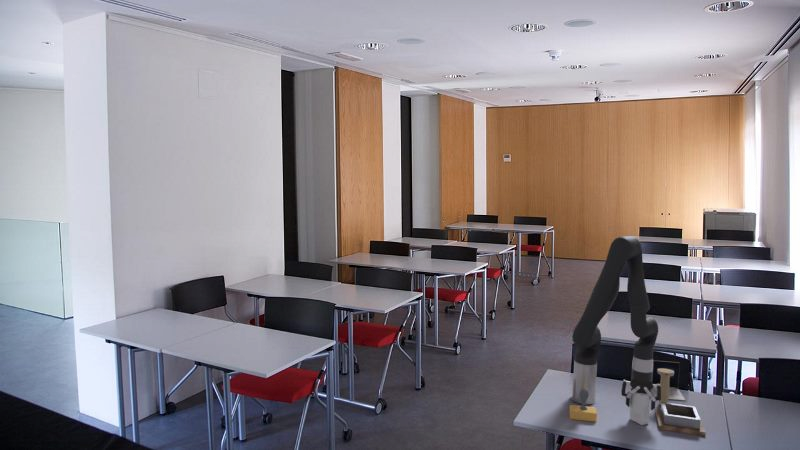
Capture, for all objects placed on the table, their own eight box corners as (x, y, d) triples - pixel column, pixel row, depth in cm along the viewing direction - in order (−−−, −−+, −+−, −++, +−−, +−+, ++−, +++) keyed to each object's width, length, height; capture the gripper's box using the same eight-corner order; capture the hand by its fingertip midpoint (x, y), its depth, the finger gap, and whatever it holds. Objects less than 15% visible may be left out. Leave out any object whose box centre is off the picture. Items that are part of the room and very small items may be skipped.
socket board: (659, 429, 222) (660, 415, 221) (655, 412, 236) (656, 399, 235) (705, 436, 217) (706, 422, 216) (698, 418, 231) (699, 405, 230)
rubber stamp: (594, 415, 233) (596, 387, 231) (596, 422, 227) (598, 393, 226) (569, 413, 235) (570, 384, 233) (570, 419, 229) (571, 390, 228)
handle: (672, 408, 240) (675, 373, 239) (655, 406, 242) (658, 371, 240) (670, 403, 245) (673, 369, 243) (654, 401, 247) (656, 367, 245)
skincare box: (649, 423, 226) (651, 394, 225) (640, 425, 225) (642, 396, 223) (636, 417, 232) (638, 388, 230) (628, 419, 230) (630, 390, 228)
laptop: (641, 397, 251) (643, 369, 249) (635, 386, 263) (637, 359, 261) (685, 401, 248) (688, 372, 246) (677, 390, 260) (680, 362, 258)
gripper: (623, 369, 224) (621, 409, 226) (663, 373, 220) (660, 414, 222) (622, 362, 231) (620, 401, 233) (661, 367, 227) (658, 406, 229)
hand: (640, 407), depth 227 cm, fingers open, 8 cm apart
